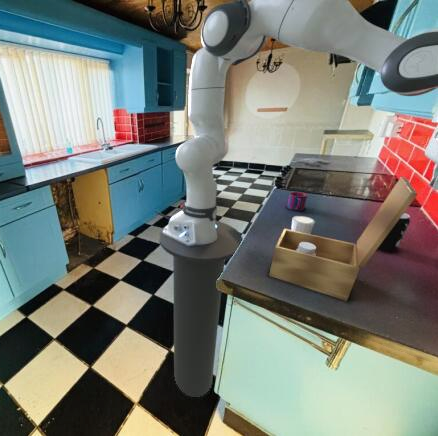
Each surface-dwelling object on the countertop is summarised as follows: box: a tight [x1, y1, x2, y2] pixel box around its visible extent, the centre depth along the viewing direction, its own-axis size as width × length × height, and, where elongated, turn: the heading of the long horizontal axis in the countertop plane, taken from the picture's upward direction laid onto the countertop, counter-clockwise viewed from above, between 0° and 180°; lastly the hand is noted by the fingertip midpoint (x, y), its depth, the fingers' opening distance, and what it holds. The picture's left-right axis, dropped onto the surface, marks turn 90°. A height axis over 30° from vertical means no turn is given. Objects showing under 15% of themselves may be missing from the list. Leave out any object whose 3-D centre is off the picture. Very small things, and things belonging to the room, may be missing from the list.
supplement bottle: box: [296, 242, 316, 256], centre depth 66 cm, size 5×5×8 cm
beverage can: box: [377, 212, 411, 253], centre depth 75 cm, size 7×7×12 cm
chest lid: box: [356, 176, 419, 268], centre depth 53 cm, size 18×13×1 cm
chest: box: [269, 228, 361, 302], centre depth 65 cm, size 18×13×10 cm
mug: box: [286, 191, 308, 212], centre depth 107 cm, size 7×10×7 cm
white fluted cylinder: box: [290, 215, 316, 234], centre depth 85 cm, size 7×7×7 cm
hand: (437, 188), depth 46 cm, fingers closed
